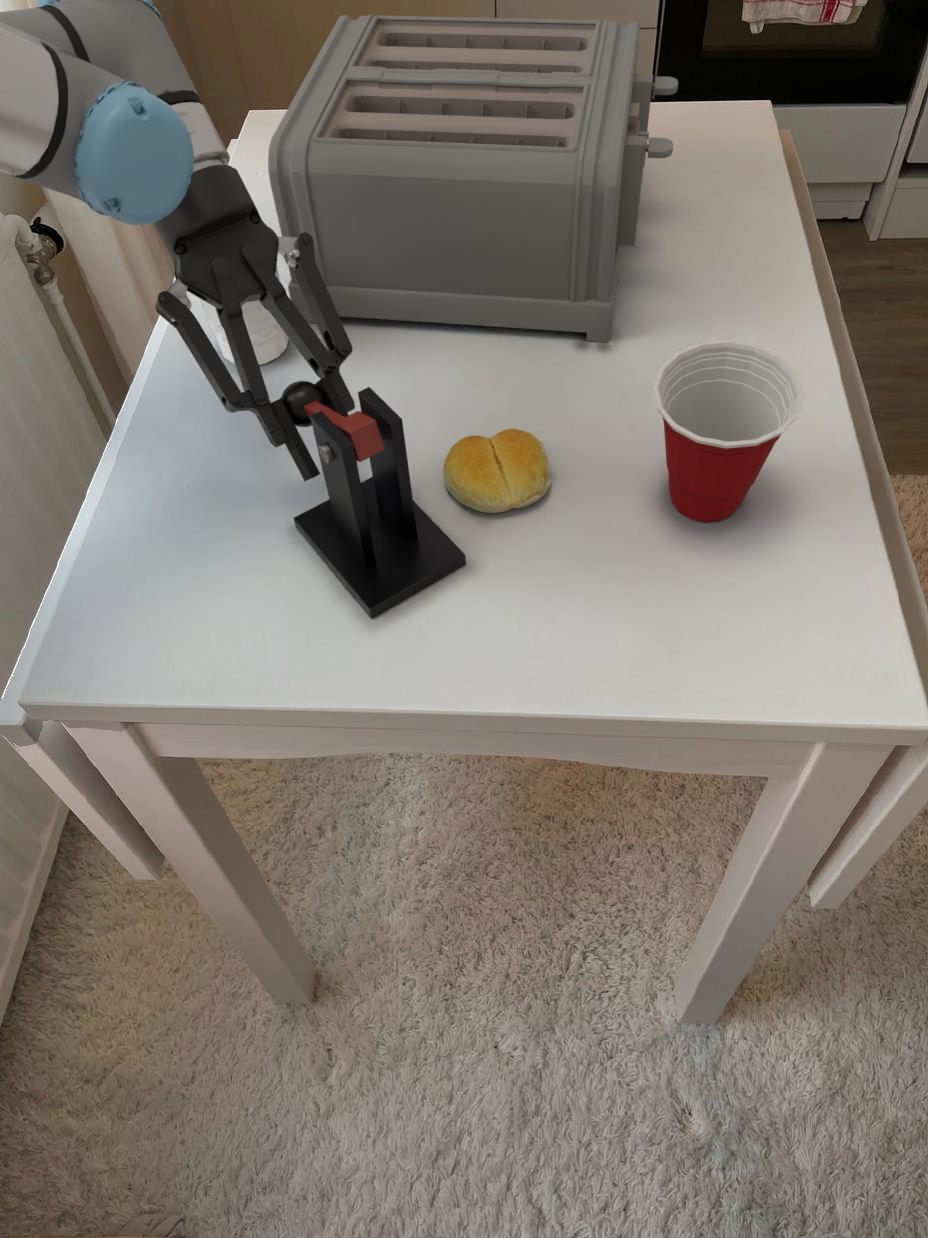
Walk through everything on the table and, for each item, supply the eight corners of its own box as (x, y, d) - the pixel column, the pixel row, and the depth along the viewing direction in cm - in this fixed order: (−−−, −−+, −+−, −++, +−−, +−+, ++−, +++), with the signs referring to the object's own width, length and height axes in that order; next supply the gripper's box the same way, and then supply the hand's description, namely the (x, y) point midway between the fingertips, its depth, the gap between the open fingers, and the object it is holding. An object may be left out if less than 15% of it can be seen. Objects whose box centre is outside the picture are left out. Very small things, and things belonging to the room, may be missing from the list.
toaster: (649, 345, 91) (673, 169, 77) (293, 321, 96) (255, 151, 82) (664, 175, 109) (685, 7, 95) (362, 162, 114) (340, 0, 100)
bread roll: (438, 457, 84) (434, 422, 81) (538, 441, 84) (538, 406, 81) (452, 525, 79) (449, 491, 76) (558, 508, 79) (560, 474, 76)
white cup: (311, 339, 94) (291, 248, 86) (252, 381, 91) (225, 290, 83) (257, 310, 98) (234, 220, 90) (199, 350, 94) (168, 259, 86)
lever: (282, 428, 78) (266, 387, 76) (320, 409, 79) (306, 369, 77) (354, 474, 68) (337, 429, 66) (396, 452, 69) (381, 407, 67)
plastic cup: (615, 518, 79) (628, 406, 69) (670, 438, 84) (689, 323, 74) (740, 568, 75) (773, 457, 65) (790, 480, 80) (826, 365, 70)
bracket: (295, 527, 80) (258, 399, 69) (386, 479, 82) (364, 348, 71) (371, 619, 74) (344, 495, 62) (466, 564, 76) (456, 436, 65)
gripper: (86, 206, 66) (252, 509, 71) (295, 127, 71) (436, 414, 76) (85, 242, 73) (236, 516, 78) (276, 167, 78) (406, 428, 83)
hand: (335, 465), depth 77 cm, fingers closed on lever, 4 cm apart
